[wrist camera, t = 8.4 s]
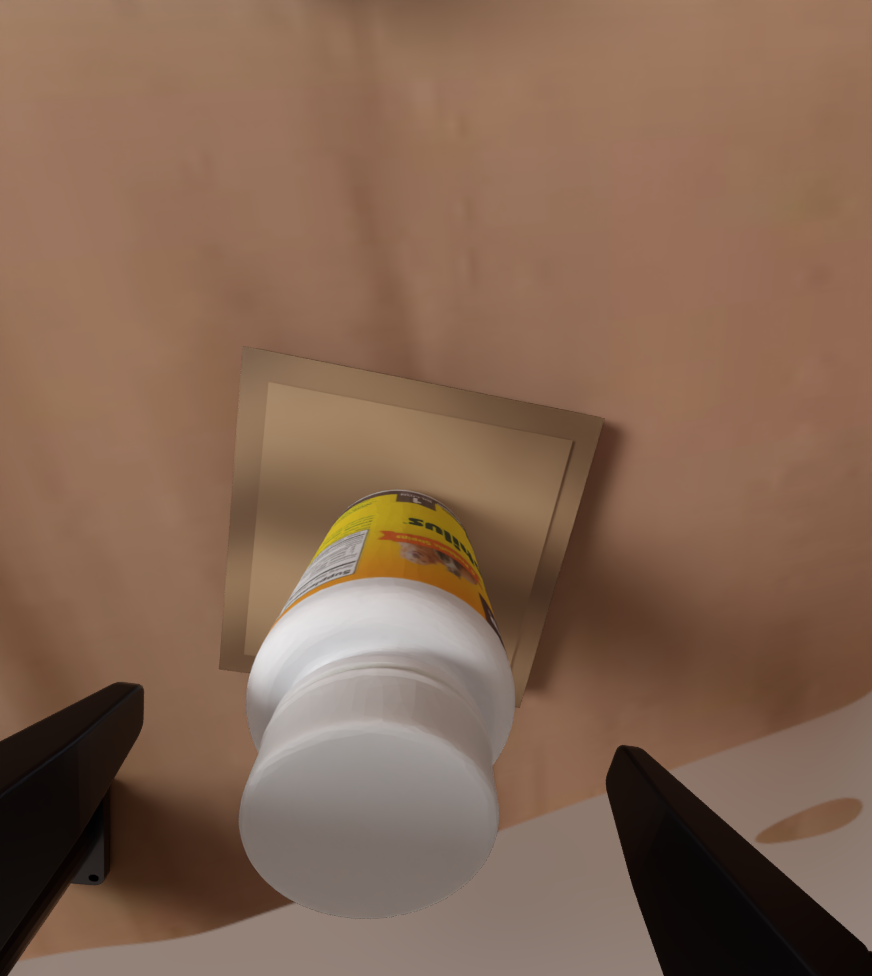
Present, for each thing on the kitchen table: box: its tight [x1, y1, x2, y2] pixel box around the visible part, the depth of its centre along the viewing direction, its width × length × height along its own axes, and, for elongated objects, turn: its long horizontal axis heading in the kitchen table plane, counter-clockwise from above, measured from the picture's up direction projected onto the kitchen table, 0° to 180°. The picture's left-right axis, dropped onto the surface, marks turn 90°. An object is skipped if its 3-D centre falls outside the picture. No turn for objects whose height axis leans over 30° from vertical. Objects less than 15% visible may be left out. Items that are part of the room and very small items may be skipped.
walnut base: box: [219, 346, 605, 708], centre depth 17 cm, size 13×13×2 cm
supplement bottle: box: [239, 490, 515, 919], centre depth 11 cm, size 6×6×10 cm
